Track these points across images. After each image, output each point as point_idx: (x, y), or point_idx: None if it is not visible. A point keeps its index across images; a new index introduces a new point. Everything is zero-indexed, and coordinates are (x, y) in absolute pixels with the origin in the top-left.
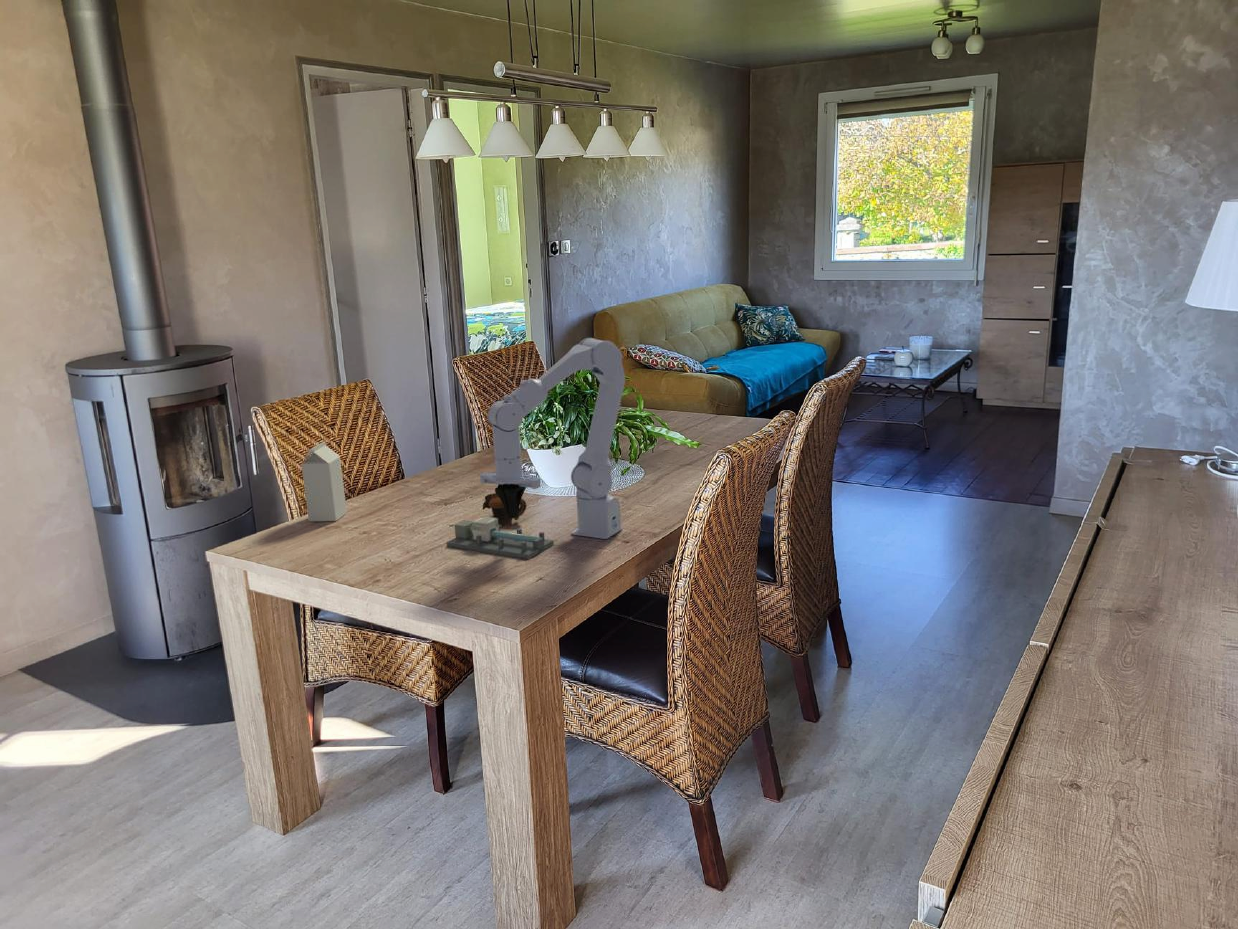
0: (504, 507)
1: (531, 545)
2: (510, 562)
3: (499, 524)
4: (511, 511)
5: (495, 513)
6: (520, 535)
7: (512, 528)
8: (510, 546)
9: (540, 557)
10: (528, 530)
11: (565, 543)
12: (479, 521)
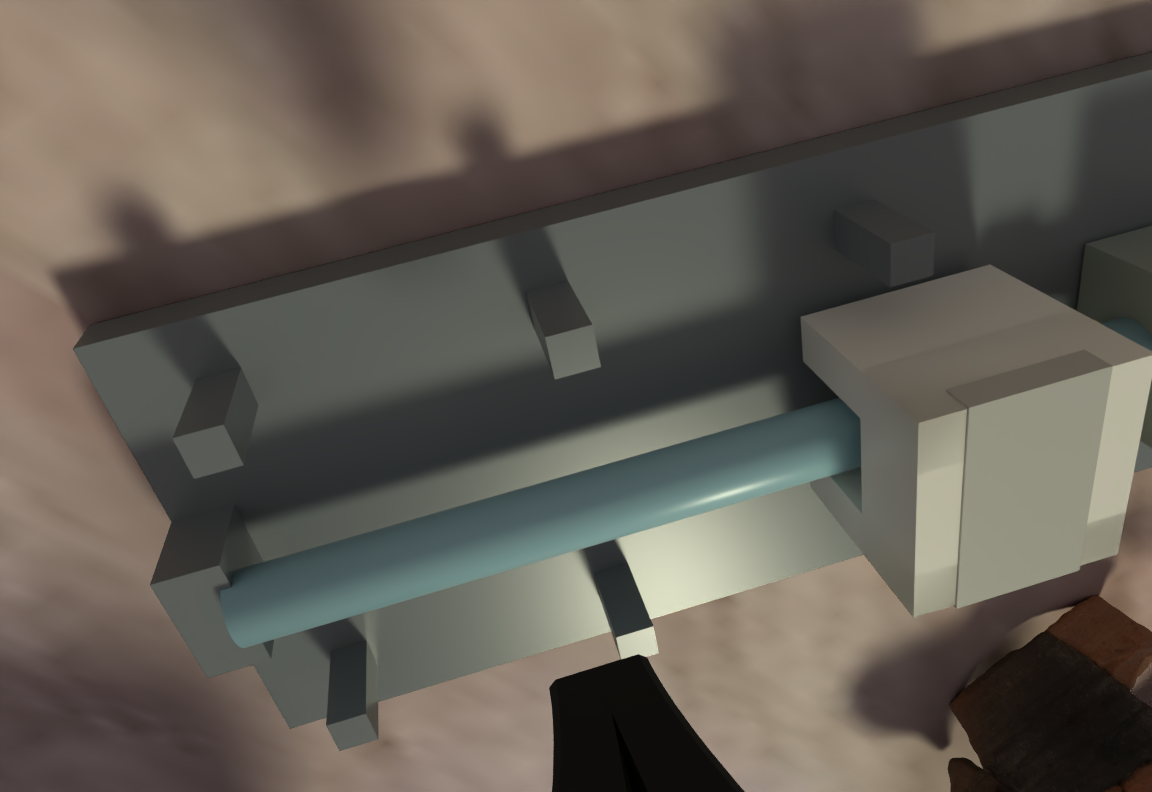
0: (724, 782)
1: (335, 541)
2: (158, 121)
3: (1020, 650)
4: (563, 777)
5: (1122, 715)
6: (445, 555)
7: (894, 674)
8: (501, 393)
9: (48, 442)
10: (751, 723)
11: (240, 763)
12: (1065, 420)
